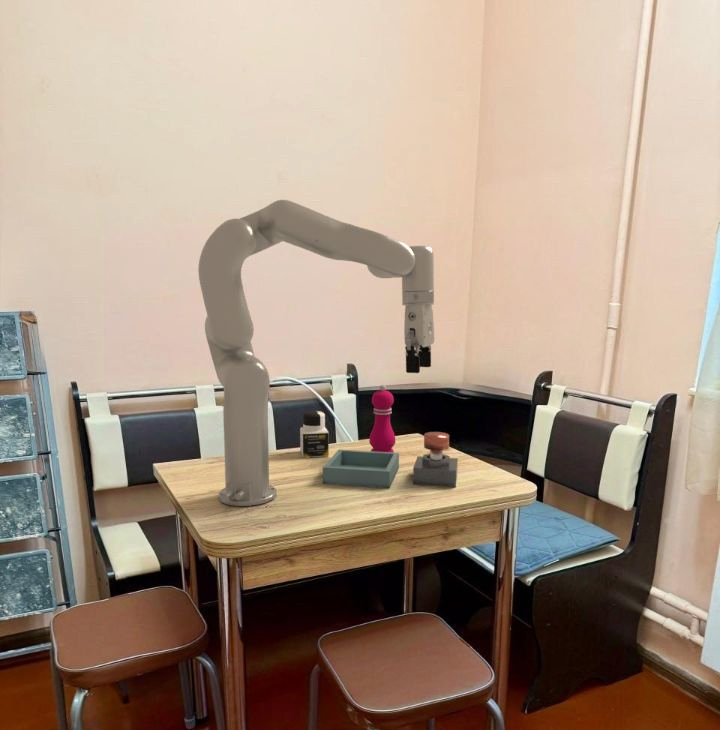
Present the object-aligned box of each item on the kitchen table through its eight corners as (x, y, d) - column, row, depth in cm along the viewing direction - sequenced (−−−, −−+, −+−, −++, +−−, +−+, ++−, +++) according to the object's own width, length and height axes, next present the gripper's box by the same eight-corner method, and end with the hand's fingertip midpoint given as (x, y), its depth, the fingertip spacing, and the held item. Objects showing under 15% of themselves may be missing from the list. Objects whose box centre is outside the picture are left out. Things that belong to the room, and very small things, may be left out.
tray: (389, 488, 135) (389, 471, 134) (322, 483, 138) (322, 467, 137) (398, 467, 150) (399, 452, 150) (338, 464, 153) (338, 449, 153)
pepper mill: (399, 454, 162) (400, 384, 160) (387, 461, 156) (387, 387, 154) (377, 451, 166) (378, 382, 164) (364, 457, 160) (364, 385, 158)
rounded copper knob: (447, 483, 138) (448, 438, 137) (422, 482, 139) (423, 437, 138) (448, 476, 144) (449, 432, 142) (424, 474, 145) (425, 431, 144)
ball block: (455, 487, 136) (456, 464, 135) (412, 484, 138) (413, 461, 137) (457, 474, 145) (457, 452, 145) (417, 471, 147) (417, 450, 147)
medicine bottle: (303, 458, 159) (302, 415, 157) (300, 451, 166) (299, 410, 164) (328, 456, 160) (328, 414, 159) (325, 450, 167) (324, 409, 166)
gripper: (422, 299, 129) (423, 375, 132) (442, 297, 145) (443, 365, 147) (391, 300, 132) (392, 374, 134) (413, 297, 148) (414, 364, 150)
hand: (418, 369), depth 141 cm, fingers open, 9 cm apart
